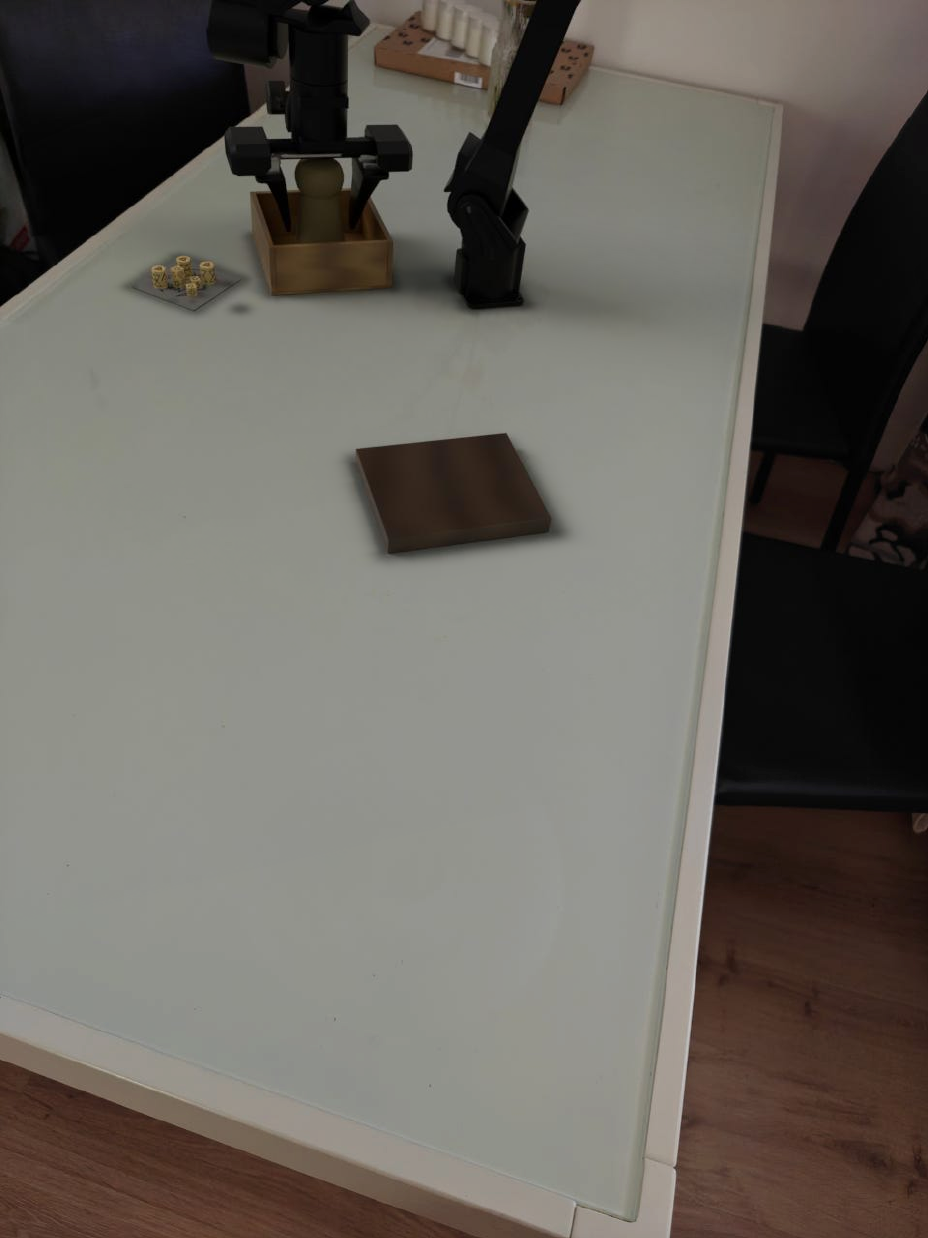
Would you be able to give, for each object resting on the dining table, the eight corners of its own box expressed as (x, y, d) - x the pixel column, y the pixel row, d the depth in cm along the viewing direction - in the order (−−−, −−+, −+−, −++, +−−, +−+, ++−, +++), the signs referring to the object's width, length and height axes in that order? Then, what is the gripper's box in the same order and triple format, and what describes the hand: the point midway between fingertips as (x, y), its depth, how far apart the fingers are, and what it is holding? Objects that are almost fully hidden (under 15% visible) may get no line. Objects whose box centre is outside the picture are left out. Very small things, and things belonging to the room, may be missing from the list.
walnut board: (504, 445, 91) (506, 432, 90) (549, 531, 84) (551, 518, 83) (355, 462, 88) (355, 448, 87) (387, 553, 80) (388, 539, 79)
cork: (294, 244, 113) (290, 145, 105) (347, 247, 114) (348, 149, 106) (292, 271, 109) (288, 169, 101) (347, 273, 110) (348, 173, 102)
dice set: (150, 286, 105) (148, 269, 103) (181, 267, 108) (179, 250, 107) (189, 301, 103) (187, 283, 102) (219, 281, 107) (218, 264, 105)
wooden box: (364, 231, 118) (365, 186, 114) (391, 287, 109) (393, 241, 105) (252, 236, 114) (249, 191, 110) (271, 295, 106) (268, 247, 102)
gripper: (391, 47, 105) (385, 193, 117) (211, 46, 100) (224, 198, 112) (418, 87, 98) (409, 238, 109) (226, 88, 93) (237, 246, 105)
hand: (320, 228), depth 109 cm, fingers closed on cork, 7 cm apart
